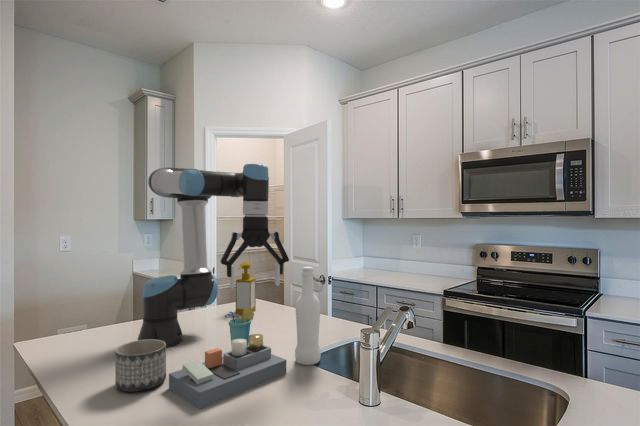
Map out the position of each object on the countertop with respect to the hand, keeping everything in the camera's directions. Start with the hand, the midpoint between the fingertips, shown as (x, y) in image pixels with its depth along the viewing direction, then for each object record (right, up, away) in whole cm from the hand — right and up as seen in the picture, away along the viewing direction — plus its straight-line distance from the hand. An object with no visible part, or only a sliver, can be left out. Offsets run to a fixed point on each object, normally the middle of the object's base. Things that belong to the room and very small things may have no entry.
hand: (255, 286), depth 115 cm
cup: (-8, -25, +14) cm, 30 cm away
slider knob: (-10, -21, -8) cm, 24 cm away
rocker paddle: (-13, -20, -15) cm, 27 cm away
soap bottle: (-16, -25, +64) cm, 70 cm away
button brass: (0, -18, -1) cm, 18 cm away
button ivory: (-4, -18, -5) cm, 19 cm away
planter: (-30, -25, -10) cm, 40 cm away
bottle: (+16, -25, +7) cm, 30 cm away
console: (-6, -25, -7) cm, 27 cm away
